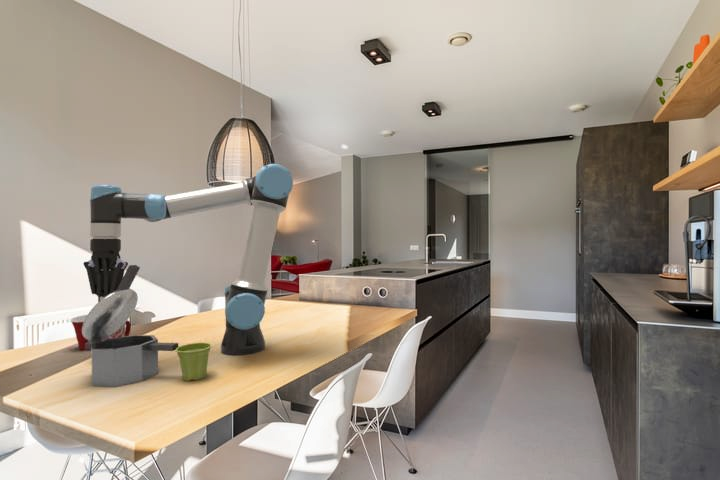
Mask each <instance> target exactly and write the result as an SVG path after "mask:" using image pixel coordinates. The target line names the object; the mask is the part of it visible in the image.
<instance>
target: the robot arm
mask: <svg viewBox="0 0 720 480" xmlns="http://www.w3.org/2000/svg"><path fill="white" fill-rule="evenodd" d="M293 187H294V180H293V176H292V174H291V172H290V171H289V170H288V168H287V167H285V166H283V165H282V164H278V163H270V164H266V165H264V166H262V167H260V169H259V170H258V171H257V173H256V175H255V176H252V177H250V178H244V179H243V180H242V181H241V182H236V183H232V184H225V185H219V186H214V187H208V188H202V189H198V190H192V191H185V192H181V193H180V192H179V193H174V194H169V195H164V194H157V193H156V194H155V193H132V192H131V193H127V192H122V188H121V186H118V185H113V184H112V185H110V184H95V185H92V186H91V189H90V199H89V203H90V205H89V206H90V234H89V236H90V237H92V238H91V239H90V241H89V243H90V244H89V245H90V248H89V249H90V252H92V254H91V257H90V260H88V261H83V266H84V267H85V269H86V274H87V277H88V282H89V288H90V292H91V295H96V296H97V297H98V298H97V301H98V302H99V301H100V300H102V299H103V298H104V297H105V296H107V295H108V294H110V293H112V292H113V291H116V290H117V288H118V286H119V284H120V282H121V280H122V279H123V277H124V275H125V272H126V270H127V268H128V266H129V263H128V262H127V261H123V259H121V255H120V252H121V251H122V240H121V239H120V238H121V236H122V233H121V231H122V225H121V224H122V219H138V220H139V219H141V220H145V221H147V222H150V223H155V222H160V221H162V220H166V219H170V218H175V217H182V216H185V215H191V214H192V215H193V214H197V213H203V212H207V211H212V210H213V211H214V210H219V209H223V208H229V207H234V206H235V207H236V206H239V205H244V204H245V205H248V206H253V209H252V211H253V212H252V214H251V218H250V219H251V220H250V222H249V228H248V231H247V236H246V241H245V244H244V250H243V254H242V258H241V263H240V266H239V272H238V275H237V278H236V279H235V280H234V281H232V282H231V283H230V285H227V286H226V287H225V289H224V299H225V300H224V301H225V302H224V304H225V306H224V307H225V309H224V313H225V314H224V315H225V331H224V335H223V337H222V340H221V344H220V352H221V353H222V354H225V355H233V356H235V355H236V356H237V355H239V356H240V355H248V354H254V353H257V352H260V351H262V350H265V348H266V339H265V336H264V335H263V334H264V333H263V332H262V329H261V325H260V324H261V322H262V320H263V318H264V317H265V312H266V310H265V309H266V308H265V307H266V306H265V303H266V300H267V299H266V298H267V293H268V288H267V286H266V285H265V283H266V282H265V281H266V278H267V277H266V276H267V273H268V267H269V265H270V259H271V255H272V250H273V246H274V245H273V244H274V242H275V237H276V232H277V228H278V224H279V219H280V215H281V213H282V212H284V211H286V209H287V208H286V207H287V205H288V200H289V195H290V193H291V192H292V190H293ZM98 302H97V303H98Z"/></svg>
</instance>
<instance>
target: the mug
mask: <svg viewBox="0 0 720 480" xmlns="http://www.w3.org/2000/svg"><path fill="white" fill-rule="evenodd" d="M131 325H132V324H131V321H130V320H129V319H128V320H127V321H126V322H125V323H124V324H123V325H122V326H121V327H120V328H119V329H118V330H117V331H115V332H114V333H113V334H111V335H110V336H109V338H108V339H110V338H117V337H124V336H130V333H131V328H132V327H131ZM106 340H107V339H106Z"/></svg>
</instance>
